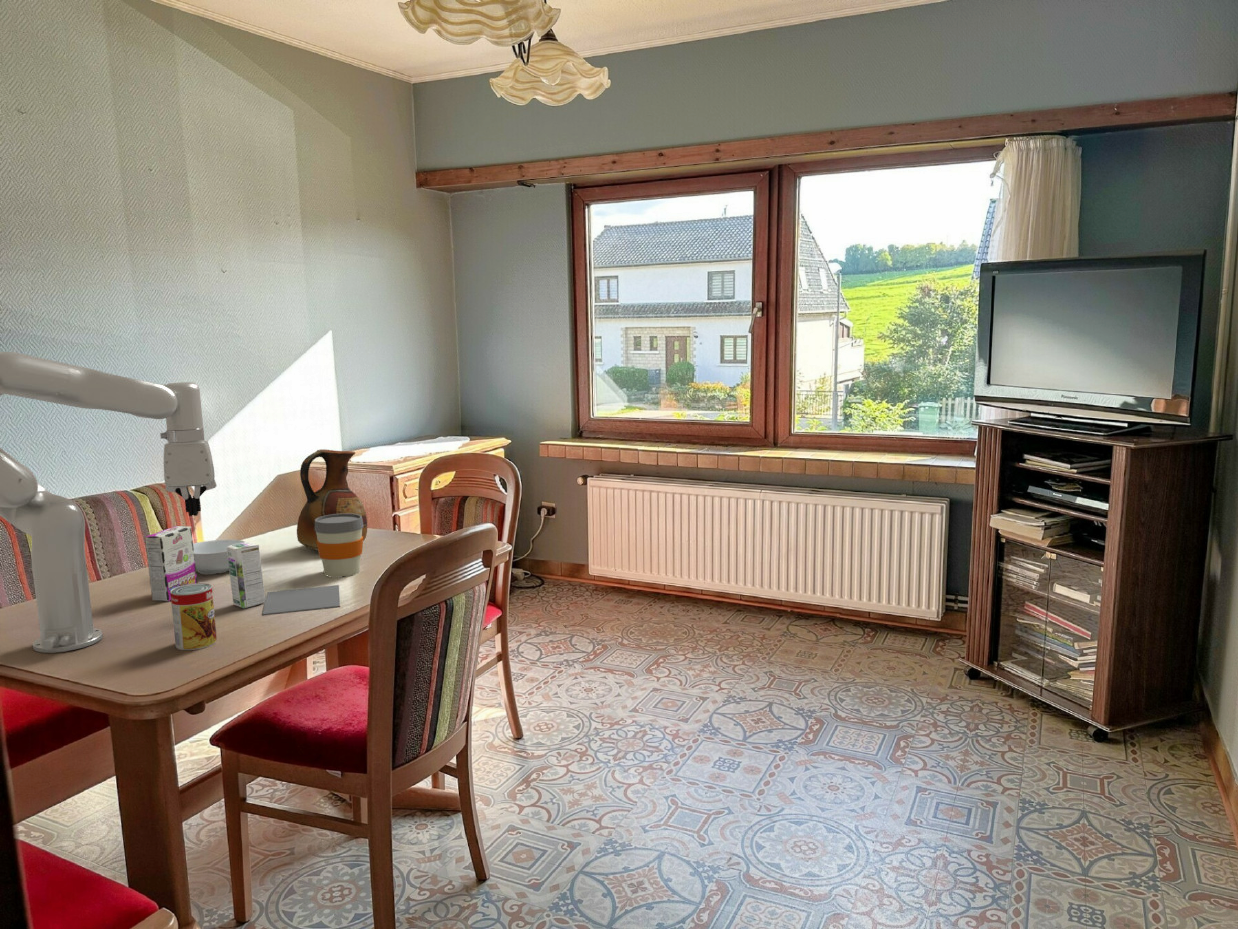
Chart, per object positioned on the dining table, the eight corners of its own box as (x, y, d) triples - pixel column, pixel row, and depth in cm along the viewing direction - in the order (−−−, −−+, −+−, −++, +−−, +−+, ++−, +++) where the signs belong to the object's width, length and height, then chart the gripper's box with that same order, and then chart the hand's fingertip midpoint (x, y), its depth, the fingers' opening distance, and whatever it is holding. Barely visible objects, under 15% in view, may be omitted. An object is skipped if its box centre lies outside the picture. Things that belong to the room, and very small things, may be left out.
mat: (339, 606, 209) (339, 605, 209) (262, 615, 203) (262, 613, 203) (338, 586, 226) (338, 584, 225) (267, 593, 220) (267, 592, 220)
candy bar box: (181, 588, 226) (175, 525, 224) (198, 588, 225) (192, 526, 223) (150, 601, 215) (143, 535, 213) (168, 602, 214) (161, 536, 212)
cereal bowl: (254, 572, 240) (252, 547, 239) (187, 583, 231) (185, 556, 229) (240, 559, 254) (238, 535, 253) (177, 569, 244) (174, 544, 243)
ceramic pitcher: (380, 547, 264) (374, 448, 260) (316, 560, 251) (308, 456, 246) (349, 537, 279) (343, 443, 274) (287, 548, 265) (279, 450, 260)
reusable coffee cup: (357, 579, 232) (354, 523, 229) (310, 579, 232) (306, 523, 230) (372, 566, 244) (369, 513, 242) (327, 566, 244) (323, 513, 242)
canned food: (223, 642, 186) (218, 587, 184) (185, 653, 180) (180, 596, 178) (206, 634, 191) (201, 581, 189) (169, 644, 185) (163, 589, 183)
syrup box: (232, 604, 212) (224, 546, 209) (256, 598, 216) (248, 540, 213) (242, 609, 208) (235, 549, 205) (267, 602, 212) (259, 543, 209)
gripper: (146, 440, 196) (155, 521, 199) (219, 436, 201) (227, 515, 204) (152, 436, 203) (161, 514, 206) (223, 432, 208) (230, 509, 211)
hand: (193, 514), depth 205 cm, fingers closed
